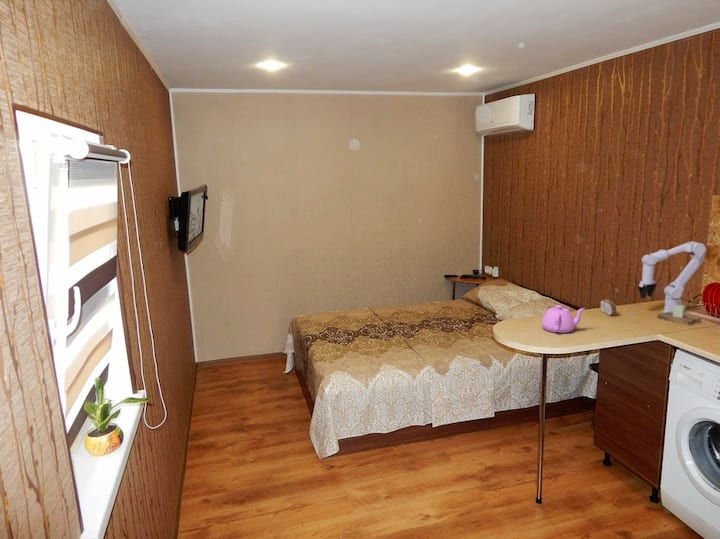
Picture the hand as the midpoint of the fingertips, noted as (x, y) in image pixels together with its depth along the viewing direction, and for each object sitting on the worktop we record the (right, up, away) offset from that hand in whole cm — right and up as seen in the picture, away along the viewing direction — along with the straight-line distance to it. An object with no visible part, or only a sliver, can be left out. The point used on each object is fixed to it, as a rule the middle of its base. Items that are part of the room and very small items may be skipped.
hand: (646, 296), depth 286 cm
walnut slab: (+8, -13, -17) cm, 23 cm away
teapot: (-62, -17, -26) cm, 69 cm away
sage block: (+8, -10, -17) cm, 21 cm away
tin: (-23, -11, +1) cm, 25 cm away
